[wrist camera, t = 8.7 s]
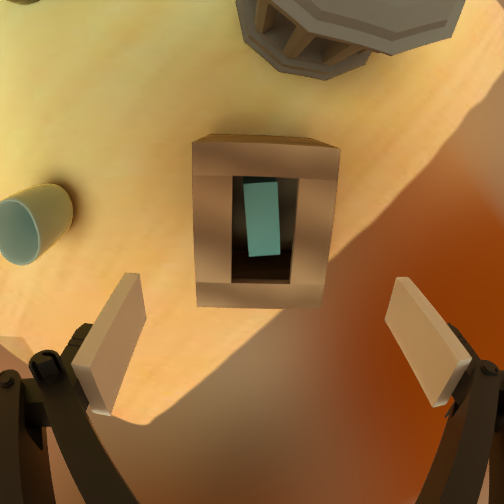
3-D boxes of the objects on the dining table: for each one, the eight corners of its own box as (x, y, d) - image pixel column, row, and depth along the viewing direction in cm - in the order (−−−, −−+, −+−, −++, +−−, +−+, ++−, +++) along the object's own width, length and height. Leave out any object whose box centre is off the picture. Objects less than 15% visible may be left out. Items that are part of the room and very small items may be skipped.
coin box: (209, 134, 33) (192, 142, 22) (311, 138, 34) (342, 149, 23) (210, 252, 39) (197, 306, 28) (302, 254, 39) (322, 308, 28)
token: (243, 171, 34) (243, 184, 28) (271, 169, 34) (277, 181, 28) (248, 231, 37) (248, 256, 31) (274, 229, 37) (280, 254, 31)
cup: (73, 170, 34) (27, 190, 25) (88, 229, 37) (49, 262, 28) (29, 184, 34) (-17, 206, 25) (44, 237, 38) (3, 269, 28)
